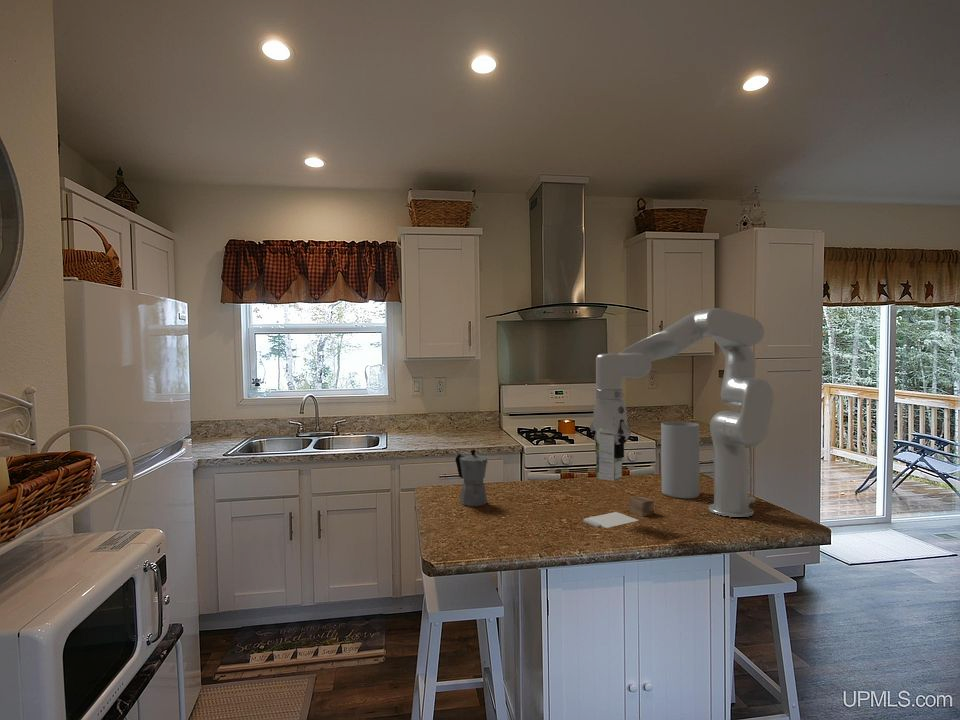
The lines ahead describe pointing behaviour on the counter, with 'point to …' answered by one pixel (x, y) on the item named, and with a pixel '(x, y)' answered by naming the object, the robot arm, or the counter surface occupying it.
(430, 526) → the counter surface
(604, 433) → the syrup box
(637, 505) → the walnut block
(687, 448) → the cylinder vase
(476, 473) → the coffeepot
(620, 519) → the clipboard
